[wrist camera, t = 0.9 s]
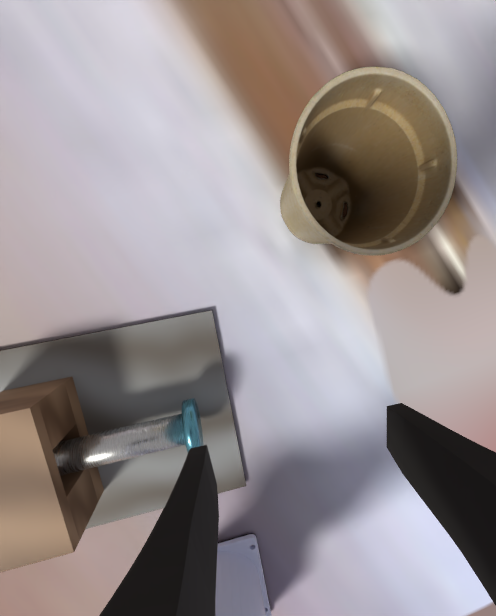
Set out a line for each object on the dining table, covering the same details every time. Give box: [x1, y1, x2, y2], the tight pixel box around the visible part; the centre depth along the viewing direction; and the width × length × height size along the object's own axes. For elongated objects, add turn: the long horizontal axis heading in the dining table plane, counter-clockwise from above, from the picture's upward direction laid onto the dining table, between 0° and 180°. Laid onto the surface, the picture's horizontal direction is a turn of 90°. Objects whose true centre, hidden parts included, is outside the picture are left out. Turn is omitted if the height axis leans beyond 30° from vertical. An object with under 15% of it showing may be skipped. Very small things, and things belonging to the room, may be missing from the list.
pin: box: [53, 398, 203, 476], centre depth 20 cm, size 4×12×4 cm, turn 100°
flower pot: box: [280, 67, 457, 255], centre depth 19 cm, size 9×9×9 cm
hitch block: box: [0, 310, 246, 572], centre depth 20 cm, size 16×22×6 cm
